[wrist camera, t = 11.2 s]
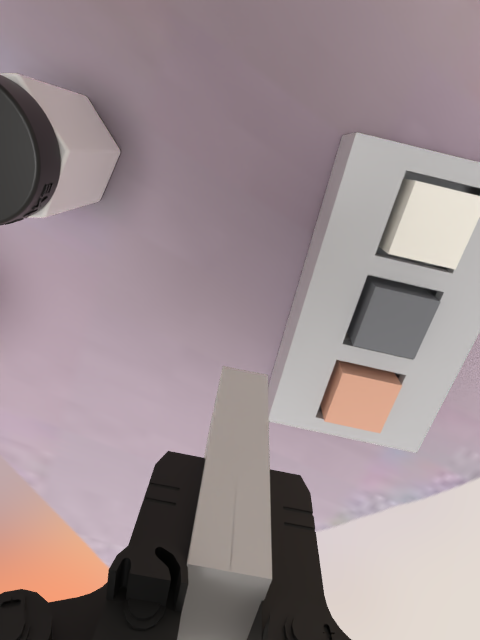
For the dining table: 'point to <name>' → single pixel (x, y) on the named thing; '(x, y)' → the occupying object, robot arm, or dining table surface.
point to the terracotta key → (359, 396)
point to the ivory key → (430, 223)
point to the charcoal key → (392, 317)
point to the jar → (50, 150)
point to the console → (347, 283)
